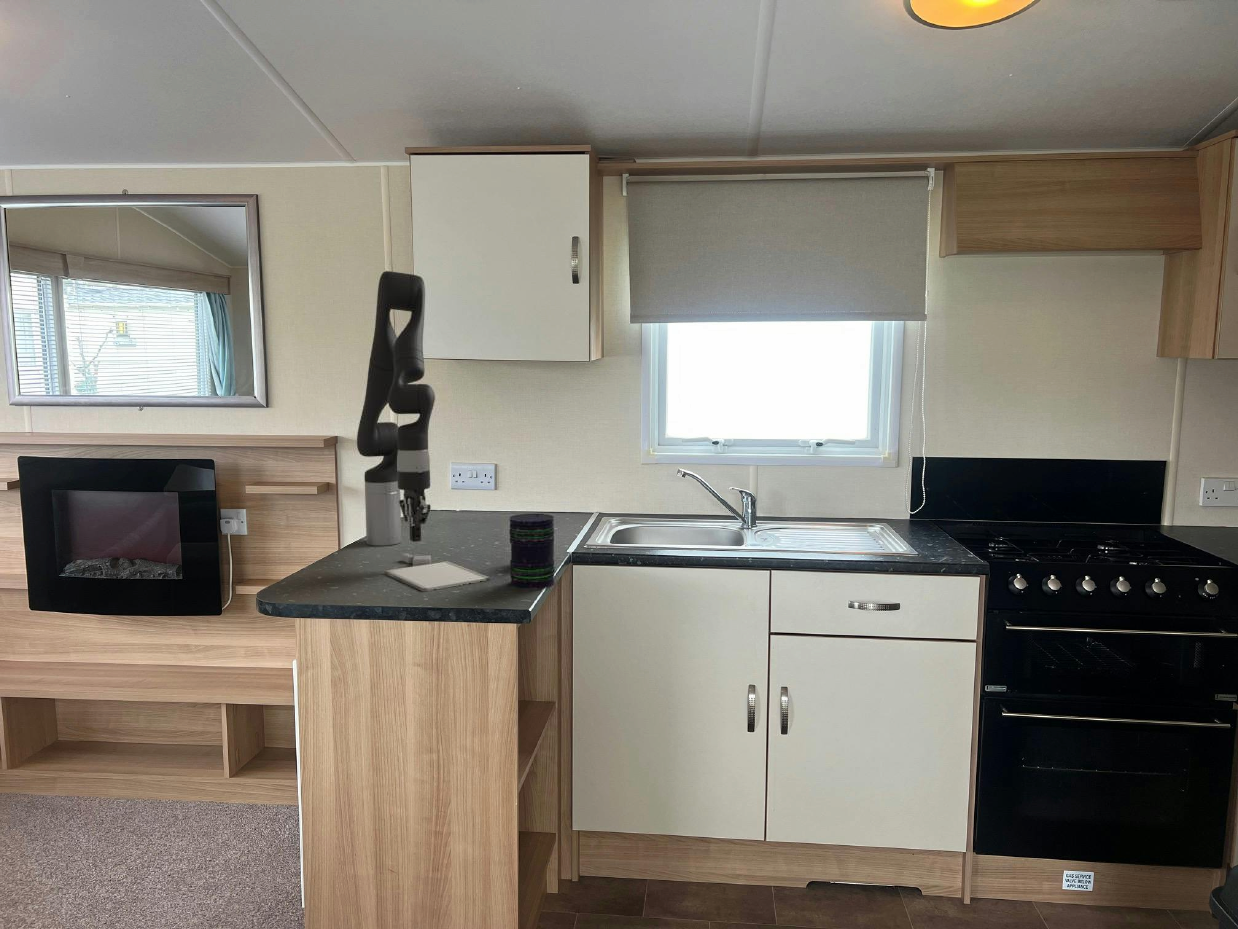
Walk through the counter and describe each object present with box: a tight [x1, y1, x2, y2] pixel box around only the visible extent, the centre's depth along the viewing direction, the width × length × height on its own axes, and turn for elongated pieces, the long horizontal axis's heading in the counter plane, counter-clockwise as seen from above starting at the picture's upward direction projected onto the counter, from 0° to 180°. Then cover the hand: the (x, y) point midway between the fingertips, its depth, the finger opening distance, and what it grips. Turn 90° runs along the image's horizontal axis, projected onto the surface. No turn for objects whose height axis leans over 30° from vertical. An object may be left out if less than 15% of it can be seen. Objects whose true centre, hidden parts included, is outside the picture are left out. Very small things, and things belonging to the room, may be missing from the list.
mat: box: [384, 560, 490, 592], centre depth 191 cm, size 21×16×1 cm
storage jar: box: [508, 513, 556, 590], centre depth 184 cm, size 10×10×15 cm
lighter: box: [401, 553, 432, 567], centre depth 205 cm, size 7×2×8 cm
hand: (415, 541), depth 199 cm, fingers closed
